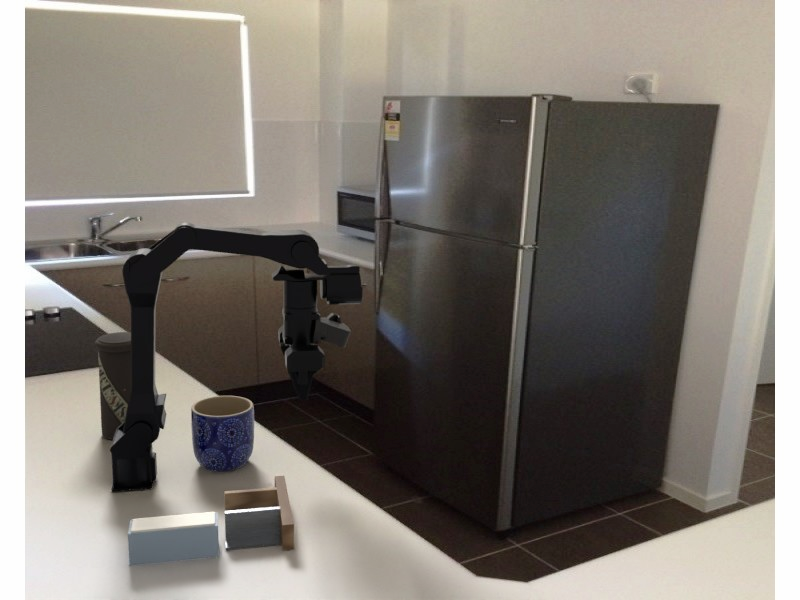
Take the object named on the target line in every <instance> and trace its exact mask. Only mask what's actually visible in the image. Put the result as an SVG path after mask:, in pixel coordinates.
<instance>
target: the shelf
mask: <svg viewBox="0 0 800 600" xmlns="http://www.w3.org/2000/svg"><path fill="white" fill-rule="evenodd" d="M277 506H280V530H281V540H282V545H281V548H282V551H291V550H294V548H295V545H294V544H295V543H294V542H295V539H294V538H295V537H294V536H295V532H294V531H295V530H294V528H295V527H294V525H295V523H294V519H293V514H292V509H291V507H292V506H291V502H290V498H289V492H288V488H287V482H286V477H285V475H274V487H262V488H251V489H250V488H249V489H237V490H235V489H234V490H225V491H224V512H225V511H230V510H242V509H253V508H265V507H277Z"/></svg>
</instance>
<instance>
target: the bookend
mask: <svg viewBox="0 0 800 600" xmlns="http://www.w3.org/2000/svg"><path fill="white" fill-rule="evenodd" d="M224 525H225V527H224V528H225V529H224V531H225V532H224V533H225V535H224V536H225V550H226V551H230V550H232V551H233V550H240V549H241V550H242V549H243V550H244V549H251V548H263V547H274V546H282V540H281V530H280V506H277V507H265V508H253V509H242V510H230V511H225V510H224Z"/></svg>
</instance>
